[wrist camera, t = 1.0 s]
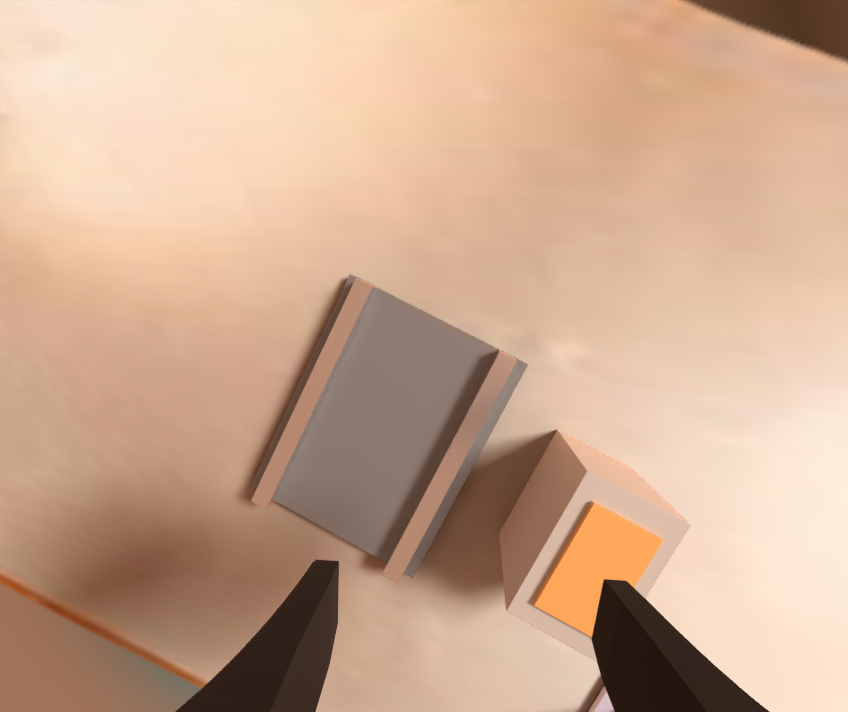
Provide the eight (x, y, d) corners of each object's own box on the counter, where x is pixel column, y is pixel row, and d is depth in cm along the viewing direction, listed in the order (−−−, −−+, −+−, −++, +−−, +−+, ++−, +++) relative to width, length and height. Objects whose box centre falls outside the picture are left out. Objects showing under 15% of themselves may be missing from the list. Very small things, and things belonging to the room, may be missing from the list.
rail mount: (526, 363, 25) (530, 367, 23) (414, 570, 26) (409, 590, 24) (353, 276, 26) (343, 272, 24) (256, 482, 27) (239, 494, 25)
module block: (630, 467, 25) (694, 528, 17) (569, 571, 25) (605, 670, 18) (557, 429, 25) (589, 473, 18) (498, 533, 26) (506, 616, 19)
